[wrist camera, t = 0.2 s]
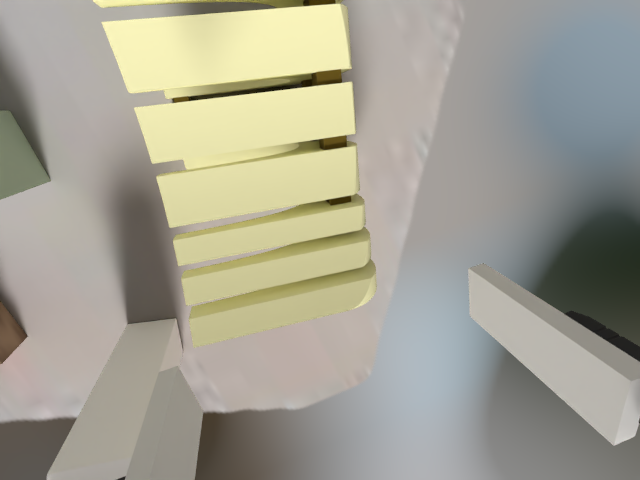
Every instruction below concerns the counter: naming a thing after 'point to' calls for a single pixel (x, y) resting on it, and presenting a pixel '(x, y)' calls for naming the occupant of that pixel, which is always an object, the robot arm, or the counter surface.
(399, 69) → the counter surface
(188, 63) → the slatted curved stool
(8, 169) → the sage block
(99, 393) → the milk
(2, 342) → the tower base
